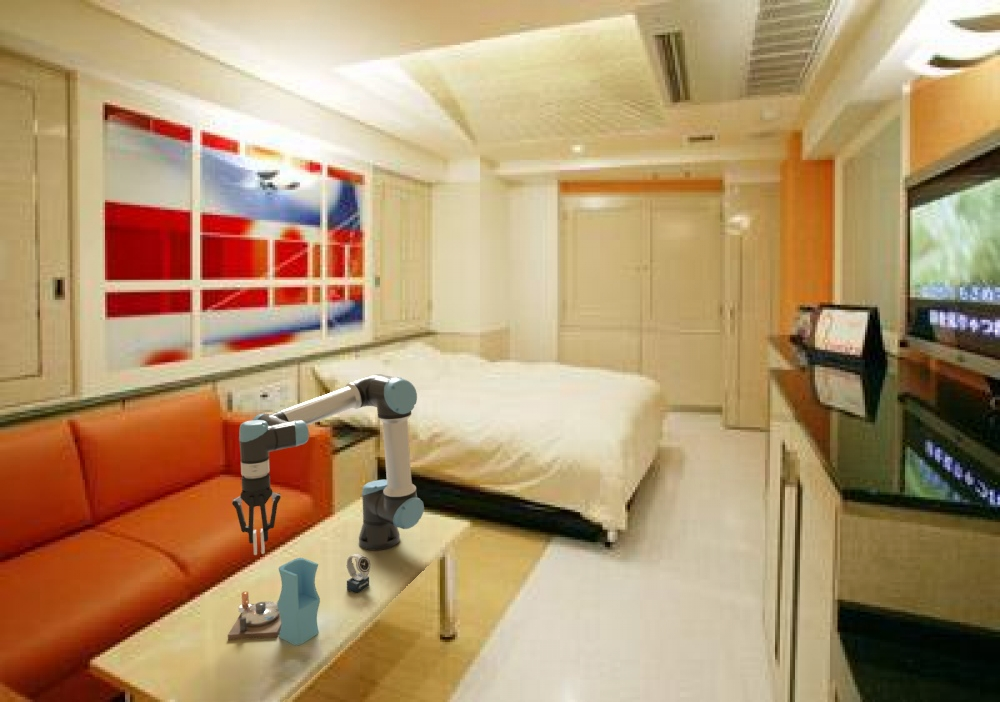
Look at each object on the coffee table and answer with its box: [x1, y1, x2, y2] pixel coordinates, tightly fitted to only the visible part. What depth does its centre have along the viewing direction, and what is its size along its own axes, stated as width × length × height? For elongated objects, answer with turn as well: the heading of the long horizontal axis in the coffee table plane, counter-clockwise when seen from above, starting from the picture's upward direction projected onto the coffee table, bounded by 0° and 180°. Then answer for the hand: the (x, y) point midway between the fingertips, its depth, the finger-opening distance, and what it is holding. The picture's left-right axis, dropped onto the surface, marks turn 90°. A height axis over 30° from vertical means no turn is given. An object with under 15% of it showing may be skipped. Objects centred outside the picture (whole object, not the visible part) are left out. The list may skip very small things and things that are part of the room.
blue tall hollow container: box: [276, 557, 321, 646], centre depth 156 cm, size 8×8×20 cm
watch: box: [346, 552, 372, 595], centre depth 181 cm, size 6×8×11 cm
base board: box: [227, 603, 281, 641], centre depth 163 cm, size 15×13×5 cm
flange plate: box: [237, 591, 280, 626], centre depth 163 cm, size 12×10×6 cm
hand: (259, 552), depth 166 cm, fingers closed
